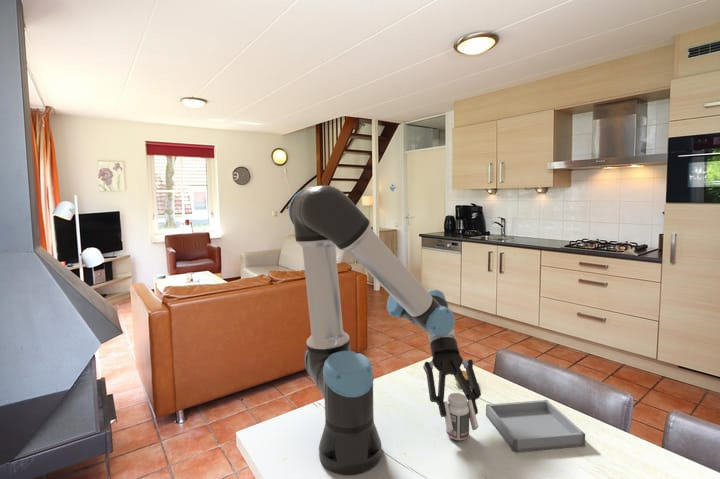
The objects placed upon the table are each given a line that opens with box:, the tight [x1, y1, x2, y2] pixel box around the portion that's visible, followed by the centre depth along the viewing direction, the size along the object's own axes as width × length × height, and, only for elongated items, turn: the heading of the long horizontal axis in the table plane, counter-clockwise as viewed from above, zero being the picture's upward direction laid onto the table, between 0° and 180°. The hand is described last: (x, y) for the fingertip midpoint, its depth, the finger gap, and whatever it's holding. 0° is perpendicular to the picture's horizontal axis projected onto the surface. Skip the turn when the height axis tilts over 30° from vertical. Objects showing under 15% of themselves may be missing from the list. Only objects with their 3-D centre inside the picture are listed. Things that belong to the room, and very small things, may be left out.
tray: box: [485, 399, 586, 454], centre depth 100 cm, size 18×16×3 cm
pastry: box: [454, 370, 471, 389], centre depth 126 cm, size 9×7×4 cm
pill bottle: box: [445, 392, 470, 441], centre depth 97 cm, size 6×6×10 cm
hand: (462, 429), depth 94 cm, fingers closed on pill bottle, 6 cm apart
